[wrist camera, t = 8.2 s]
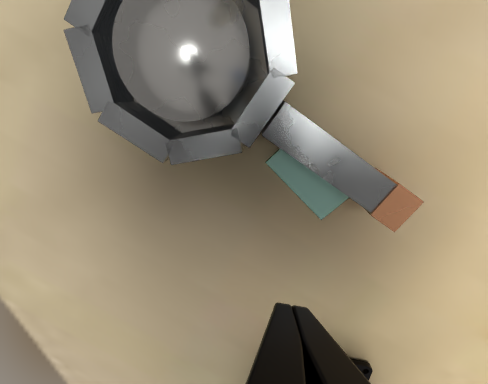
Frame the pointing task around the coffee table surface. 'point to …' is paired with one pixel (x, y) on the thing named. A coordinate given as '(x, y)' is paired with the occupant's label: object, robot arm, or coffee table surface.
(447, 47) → the coffee table surface
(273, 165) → the align mark
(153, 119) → the grey octagonal frying pan
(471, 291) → the coffee table surface
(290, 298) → the coffee table surface
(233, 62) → the grey metal bowl
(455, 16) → the coffee table surface
